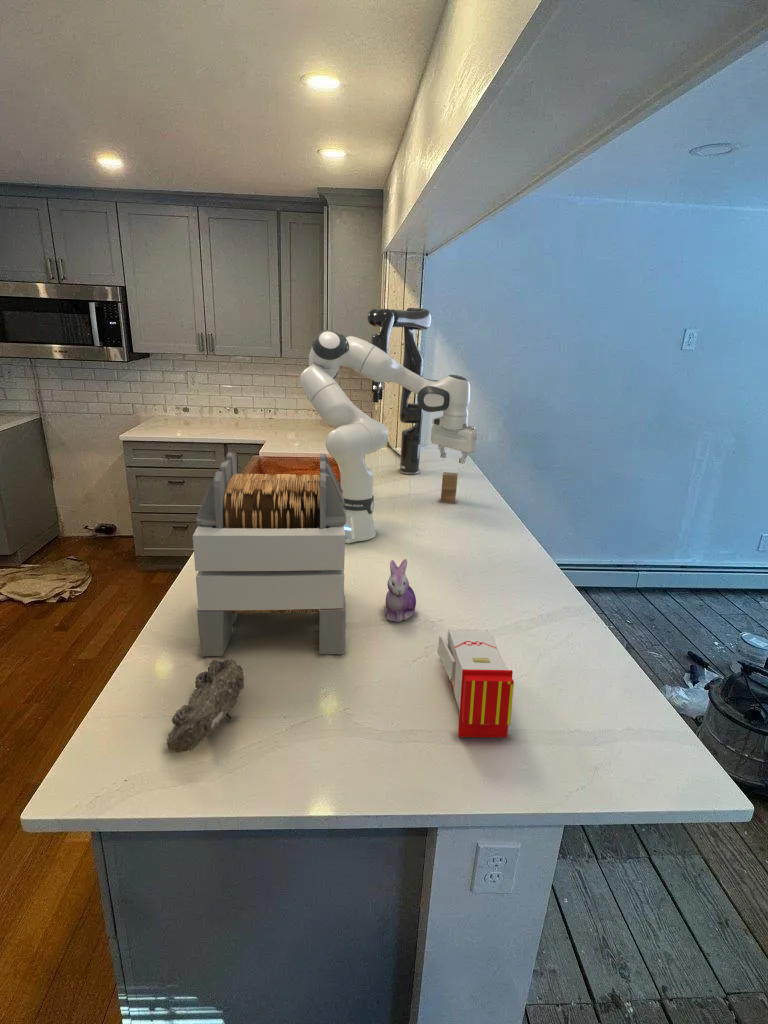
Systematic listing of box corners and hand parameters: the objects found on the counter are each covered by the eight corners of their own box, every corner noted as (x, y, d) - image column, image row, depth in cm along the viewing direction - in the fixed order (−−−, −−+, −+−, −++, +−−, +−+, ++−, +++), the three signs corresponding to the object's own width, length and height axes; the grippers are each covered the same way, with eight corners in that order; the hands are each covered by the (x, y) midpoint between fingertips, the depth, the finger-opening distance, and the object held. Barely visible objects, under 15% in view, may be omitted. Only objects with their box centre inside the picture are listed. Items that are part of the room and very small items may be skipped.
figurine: (392, 627, 141) (395, 572, 136) (374, 608, 149) (376, 556, 144) (425, 619, 145) (429, 566, 140) (405, 601, 154) (408, 550, 149)
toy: (488, 613, 130) (523, 677, 101) (484, 667, 133) (517, 744, 104) (435, 612, 130) (455, 676, 101) (432, 666, 133) (451, 743, 103)
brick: (454, 503, 234) (457, 475, 230) (440, 502, 235) (442, 474, 231) (455, 500, 238) (457, 473, 234) (441, 499, 239) (443, 472, 235)
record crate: (222, 587, 157) (213, 443, 143) (340, 586, 160) (343, 445, 147) (197, 659, 125) (183, 482, 111) (345, 655, 129) (349, 484, 115)
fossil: (192, 660, 117) (244, 628, 112) (224, 691, 120) (276, 661, 115) (142, 746, 98) (202, 712, 93) (182, 779, 101) (242, 748, 96)
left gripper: (483, 426, 195) (479, 465, 199) (441, 417, 210) (438, 453, 214) (471, 428, 191) (467, 468, 196) (429, 418, 206) (426, 455, 210)
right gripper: (385, 362, 223) (383, 404, 228) (391, 359, 236) (389, 399, 241) (366, 361, 224) (365, 402, 229) (373, 358, 237) (372, 397, 242)
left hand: (452, 460), depth 205 cm, fingers open, 8 cm apart
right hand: (377, 400), depth 235 cm, fingers open, 8 cm apart
